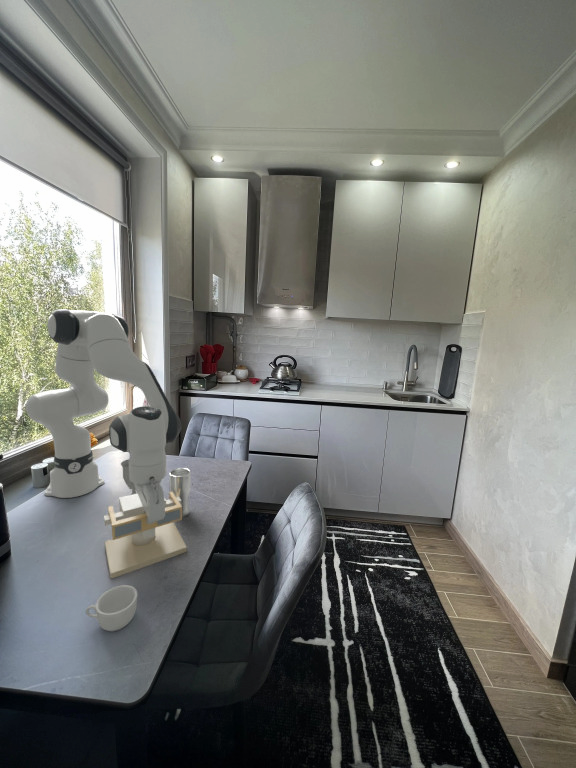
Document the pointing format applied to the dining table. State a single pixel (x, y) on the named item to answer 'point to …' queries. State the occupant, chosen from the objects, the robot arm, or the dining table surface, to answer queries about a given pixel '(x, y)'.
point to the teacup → (115, 607)
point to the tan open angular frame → (143, 520)
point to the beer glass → (181, 487)
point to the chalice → (127, 476)
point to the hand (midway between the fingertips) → (149, 518)
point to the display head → (141, 541)
